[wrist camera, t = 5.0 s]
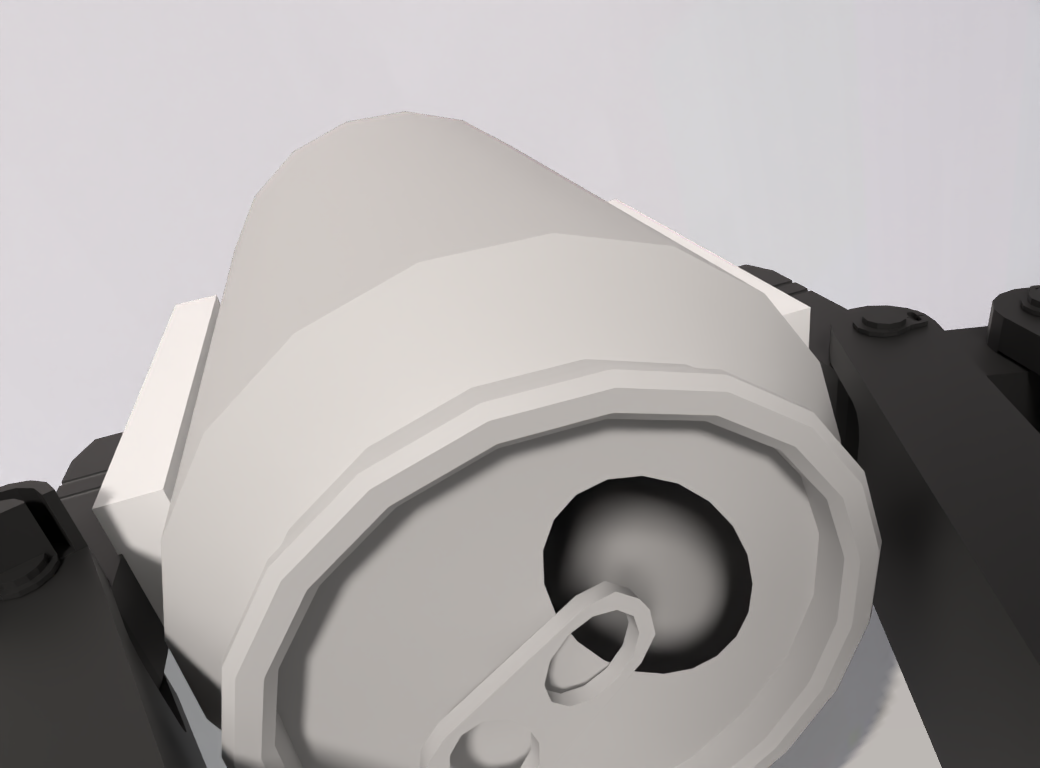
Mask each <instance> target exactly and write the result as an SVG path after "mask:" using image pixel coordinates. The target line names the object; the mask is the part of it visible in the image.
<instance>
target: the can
mask: <svg viewBox="0 0 1040 768" xmlns="http://www.w3.org/2000/svg"><path fill="white" fill-rule="evenodd" d="M881 544H882V540H881V536H880V532H879V528H878V524H877V520H876V516H875V512H874V508H873V504H872V500H871V496H870V492H869V488H868V484H867V480H866V476H865V472H864V470H863V469H862V468H861V467H860V466H859V465H858V463H857V462H856V461H855V460H854V459H853V458H852V456H851V455H850V454H849V453H848V452H847V451H846V450H845V448H844V447H843V446H842V445H841V439H840V435H839V432H838V428H837V424H836V420H835V417H834V413H833V409H832V406H831V402H830V398H829V394H828V391H827V387H826V383H825V379H824V376H823V372H822V368H821V364H820V362H819V361H818V359H817V358H816V357H815V356H814V354H813V353H812V352H811V351H810V349H809V348H808V347H807V346H806V344H805V343H804V342H803V341H802V339H801V338H800V337H799V336H798V334H797V333H796V332H795V331H794V329H793V328H792V327H791V326H790V324H789V323H788V322H787V321H786V319H785V318H784V317H783V316H782V314H781V313H780V312H779V311H778V309H777V308H776V307H775V306H774V305H773V303H772V302H771V301H770V300H769V298H768V297H767V296H766V295H765V293H763V292H761V291H759V290H758V289H756V288H754V287H753V286H751V285H749V284H747V283H746V282H744V281H742V280H740V279H739V278H737V277H735V276H734V275H732V274H730V273H728V272H727V271H725V270H723V269H722V268H720V267H718V266H716V265H715V264H713V263H711V262H710V261H708V260H706V259H704V258H703V257H701V256H699V255H698V254H696V253H694V252H692V251H691V250H689V249H687V248H685V247H684V246H682V245H680V244H679V243H677V242H675V241H673V240H672V239H670V238H668V237H667V236H665V235H663V234H661V233H660V232H658V231H656V230H655V229H653V228H651V227H649V226H648V225H646V224H644V223H642V222H641V221H639V220H637V219H636V218H634V217H632V216H630V215H629V214H627V213H625V212H624V211H622V210H620V209H618V208H617V207H615V206H613V205H612V204H610V203H608V202H606V201H605V200H603V199H601V198H600V197H598V196H596V195H594V194H593V193H591V192H589V191H587V190H586V189H584V188H582V187H581V186H579V185H577V184H575V183H574V182H572V181H570V180H569V179H567V178H565V177H563V176H562V175H560V174H558V173H557V172H555V171H553V170H551V169H550V168H548V167H546V166H544V165H543V164H541V163H539V162H538V161H536V160H534V159H532V158H531V157H529V156H527V155H526V154H524V153H522V152H520V151H519V150H517V149H515V148H514V147H512V146H510V145H508V144H506V143H504V142H502V141H501V140H499V139H497V138H495V137H493V136H491V135H489V134H487V133H485V132H484V131H482V130H480V129H478V128H476V127H474V126H472V125H470V124H469V123H467V122H465V121H463V120H457V119H451V118H444V117H438V116H431V115H425V114H419V113H412V112H406V111H404V112H399V113H393V114H388V115H382V116H376V117H371V118H365V119H360V120H354V121H348V122H345V123H343V124H341V125H340V126H338V127H336V128H334V129H333V130H331V131H329V132H327V133H326V134H324V135H322V136H320V137H318V138H317V139H315V140H313V141H311V142H310V143H308V144H306V145H304V146H303V147H301V148H299V149H297V150H295V151H294V152H293V153H292V154H291V155H290V156H289V157H288V159H287V160H286V161H285V162H284V163H283V164H282V165H281V167H280V168H279V169H278V170H277V171H276V172H275V174H274V175H273V176H272V177H271V178H270V179H269V181H268V182H267V183H266V184H265V185H264V186H263V187H262V189H261V190H260V191H259V192H258V193H257V194H256V196H255V197H254V200H253V202H252V205H251V208H250V210H249V213H248V216H247V218H246V221H245V223H244V226H243V229H242V231H241V234H240V237H239V239H238V242H237V245H236V247H235V250H234V254H233V258H232V262H231V266H230V270H229V274H228V278H227V281H226V285H225V289H224V293H223V297H222V301H221V305H220V309H219V313H218V317H217V321H216V325H215V329H214V333H213V337H212V341H211V345H210V349H209V353H208V357H207V360H206V364H205V368H204V372H203V376H202V380H201V384H200V388H199V392H198V396H197V400H196V404H195V408H194V412H193V416H192V420H191V424H190V428H189V432H188V436H187V439H186V443H185V447H184V451H183V455H182V459H181V463H180V467H179V471H178V475H177V479H176V483H175V487H174V491H173V495H172V499H171V503H170V507H169V511H168V514H167V518H166V522H165V526H164V530H163V534H162V538H161V560H162V585H163V610H164V634H165V642H166V644H167V646H168V648H169V649H170V651H171V653H172V655H173V657H174V659H175V661H176V663H177V664H178V666H179V668H180V670H181V672H182V674H183V676H184V678H185V679H186V681H187V683H188V685H189V687H190V689H191V691H192V692H193V694H194V696H195V698H196V700H197V702H198V704H199V706H200V707H201V709H202V711H203V713H204V715H205V717H206V719H207V720H209V721H210V722H211V723H212V724H214V725H215V726H216V727H217V728H219V729H220V730H221V731H222V759H223V761H224V763H225V765H226V767H227V768H769V767H770V766H771V765H772V764H773V763H775V762H776V761H777V760H778V759H779V758H780V757H782V756H783V755H784V754H785V753H786V752H787V751H788V750H789V749H790V747H791V746H792V745H793V744H794V742H795V741H796V740H797V739H798V738H799V736H800V735H801V734H802V733H803V731H804V730H805V729H806V728H807V726H808V725H809V724H810V723H811V721H812V720H813V719H814V718H815V716H816V715H817V714H818V713H819V711H820V710H821V709H822V708H823V706H824V705H825V704H826V703H827V701H828V700H829V699H830V698H831V696H832V695H833V694H834V693H835V692H836V690H837V688H838V686H839V684H840V682H841V680H842V678H843V676H844V674H845V672H846V670H847V667H848V665H849V663H850V661H851V659H852V657H853V655H854V653H855V651H856V649H857V647H858V645H859V642H860V640H861V638H862V636H863V634H864V632H865V630H866V628H867V626H868V624H869V621H870V617H871V611H872V605H873V598H874V591H875V584H876V578H877V571H878V564H879V557H880V551H881Z"/></svg>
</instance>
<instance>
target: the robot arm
mask: <svg viewBox="0 0 1040 768" xmlns="http://www.w3.org/2000/svg"><path fill="white" fill-rule="evenodd" d="M606 202H608V203H610V204H612V205H613V206H615V207H617V208H618V209H620V210H622V211H624V212H625V213H627V214H629V215H630V216H632V217H634V218H636V219H637V220H639V221H641V222H642V223H644V224H646V225H648V226H649V227H651V228H653V229H655V230H656V231H658V232H660V233H661V234H663V235H665V236H667V237H668V238H670V239H672V240H673V241H675V242H677V243H679V244H680V245H682V246H684V247H685V248H687V249H689V250H691V251H692V252H694V253H696V254H698V255H699V256H701V257H703V258H704V259H706V260H708V261H710V262H711V263H713V264H715V265H716V266H718V267H720V268H722V269H723V270H725V271H727V272H728V273H730V274H732V275H734V276H735V277H737V278H739V279H740V280H742V281H744V282H746V283H747V284H749V285H751V286H753V287H754V288H756V289H758V290H759V291H761V292H763V293H765V295H766V296H767V297H768V298H769V300H770V301H771V302H772V303H773V305H774V306H775V307H776V308H777V309H778V311H779V312H780V313H781V314H782V316H783V317H784V318H785V319H786V321H787V322H788V323H789V324H790V326H791V327H792V328H793V329H794V331H795V332H796V333H797V334H798V336H799V337H800V338H801V339H802V341H803V342H804V343H805V344H806V346H807V347H808V348H809V349H810V351H811V352H812V353H813V354H814V356H815V357H816V358H817V359H818V361H819V362H820V364H821V368H822V372H823V376H824V379H825V383H826V387H827V391H828V394H829V398H830V402H831V406H832V409H833V413H834V417H835V420H836V424H837V428H838V432H839V435H840V439H841V445H842V446H843V447H844V448H845V450H846V451H847V452H848V453H849V454H850V455H851V456H852V458H853V459H854V460H855V461H856V462H857V463H858V465H859V466H860V467H861V468H862V469H863V470H864V472H865V476H866V480H867V484H868V488H869V492H870V496H871V500H872V504H873V508H874V512H875V516H876V520H877V524H878V528H879V532H880V536H881V540H882V544H881V551H880V557H879V564H878V571H877V578H876V584H875V591H874V598H873V605H874V607H875V609H876V612H877V614H878V616H879V619H880V621H881V624H882V626H883V628H884V631H885V633H886V635H887V638H888V640H889V643H890V645H891V647H892V650H893V652H894V655H895V657H896V659H897V662H898V664H899V666H900V669H901V671H902V673H903V676H904V678H905V681H906V683H907V685H908V688H909V690H910V693H911V695H912V697H913V700H914V702H915V704H916V707H917V709H918V712H919V714H920V716H921V719H922V721H923V724H924V726H925V728H926V731H927V733H928V735H929V738H930V740H931V742H932V745H933V747H934V750H935V752H936V754H937V757H938V759H939V762H940V764H941V766H942V768H1040V285H1037V286H1031V287H1030V288H1021V289H1014V290H1011V291H1008V292H1005V293H1002V294H999V295H998V296H997V297H996V298H995V299H994V300H993V301H992V307H991V312H990V318H989V323H988V326H985V327H975V328H965V329H956V330H946V331H944V330H943V329H942V328H941V326H940V325H939V324H938V323H937V322H936V321H935V320H933V319H932V318H930V317H929V316H927V315H926V314H924V313H921V312H919V311H916V310H912V309H908V308H902V307H895V306H865V307H859V308H854V309H849V310H847V309H845V308H843V307H842V306H840V305H838V304H836V303H834V302H832V301H830V300H828V299H826V298H824V297H822V296H821V295H819V294H817V293H815V292H813V291H808V290H807V288H805V287H803V286H801V285H800V284H798V283H796V282H795V283H792V280H790V279H788V278H786V277H784V276H782V275H781V274H779V273H777V272H775V271H773V270H768V269H764V268H759V267H755V266H750V265H742V266H739V267H737V266H735V265H734V264H732V263H730V262H728V261H726V260H725V259H723V258H721V257H719V256H718V255H716V254H714V253H712V252H710V251H709V250H707V249H705V248H703V247H701V246H700V245H698V244H696V243H694V242H692V241H691V240H689V239H687V238H685V237H683V236H682V235H680V234H678V233H676V232H675V231H673V230H671V229H669V228H667V227H666V226H664V225H662V224H660V223H658V222H657V221H655V220H653V219H651V218H649V217H648V216H646V215H644V214H642V213H640V212H639V211H637V210H635V209H633V208H631V207H630V206H628V205H626V204H624V203H623V202H621V201H619V200H617V199H614V200H610V201H606ZM219 309H220V303H219V300H218V298H217V295H214V296H210V297H206V298H202V299H198V300H193V301H189V302H185V303H181V304H177V305H175V307H174V310H173V312H172V315H171V317H170V319H169V322H168V324H167V327H166V329H165V332H164V334H163V337H162V339H161V341H160V344H159V346H158V349H157V351H156V354H155V356H154V359H153V361H152V363H151V366H150V368H149V371H148V373H147V376H146V378H145V381H144V383H143V385H142V388H141V390H140V393H139V395H138V398H137V400H136V403H135V405H134V407H133V410H132V412H131V415H130V417H129V420H128V422H127V425H126V427H125V429H124V432H122V433H118V434H114V435H110V436H107V437H103V438H99V439H95V440H94V441H93V442H92V443H91V444H90V445H89V446H88V447H87V448H85V449H84V450H83V451H82V452H81V453H80V454H79V455H78V456H77V457H76V458H75V459H74V460H73V461H72V462H71V464H70V466H69V468H68V470H67V472H66V474H65V476H64V478H63V480H62V486H59V488H58V490H57V492H56V491H55V490H54V489H53V488H52V487H51V486H50V485H49V484H48V483H47V482H40V481H31V480H30V481H24V482H19V483H13V484H8V485H5V486H2V487H0V768H207V766H206V764H205V762H204V759H203V757H202V754H201V752H200V749H199V747H198V744H197V742H196V739H195V737H194V735H193V732H192V730H191V727H190V725H189V722H188V720H187V717H186V715H185V712H184V710H183V707H182V705H181V703H180V700H179V698H178V695H177V693H176V692H175V690H174V688H173V687H172V685H171V683H170V682H169V680H168V678H167V677H166V675H165V673H164V670H165V665H166V659H167V654H168V649H169V648H168V646H167V644H166V642H165V634H164V610H163V585H162V560H161V538H162V534H163V530H164V526H165V522H166V518H167V514H168V511H169V507H170V503H171V499H172V495H173V491H174V487H175V483H176V479H177V475H178V471H179V467H180V463H181V459H182V455H183V451H184V447H185V443H186V439H187V436H188V432H189V428H190V424H191V420H192V416H193V412H194V408H195V404H196V400H197V396H198V392H199V388H200V384H201V380H202V376H203V372H204V368H205V364H206V360H207V357H208V353H209V349H210V345H211V341H212V337H213V333H214V329H215V325H216V321H217V317H218V313H219Z"/></svg>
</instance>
